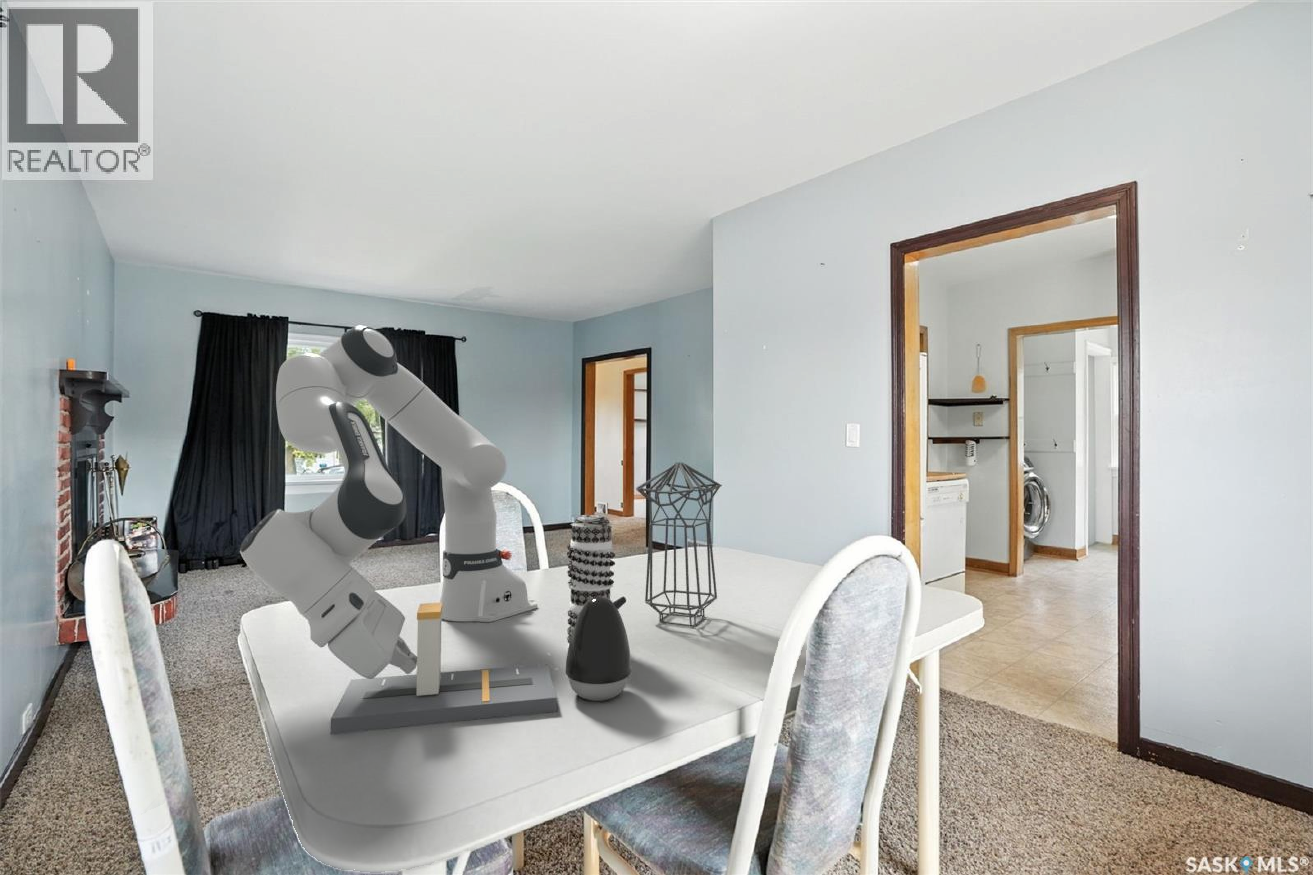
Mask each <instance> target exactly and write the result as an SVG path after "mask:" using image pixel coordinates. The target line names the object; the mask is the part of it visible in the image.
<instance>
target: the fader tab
mask: <svg viewBox="0 0 1313 875" xmlns="http://www.w3.org/2000/svg"><path fill="white" fill-rule="evenodd" d="M416 612H417V613H416V621H417V636H416V637H417V639H416V640H417V643H416V644H417V647H416V648H417V650H416V651H417V652H416V656H417V665H416V674H417V696H420V695H431V694H438V693H439V687H440V679H441V668H442V667H441V666H442V665H441V664H442V663H441V662H442V661H441V660H442V619H441V618H442V603H440V602H430V603H428V602H427V603H425V602H424V603H420V604H419V607H418V610H417V611H416Z"/></svg>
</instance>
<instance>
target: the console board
mask: <svg viewBox="0 0 1313 875" xmlns="http://www.w3.org/2000/svg"><path fill="white" fill-rule="evenodd" d="M552 680H553V679H552V676H551V672H550V670H549V666H548V664H547V663H544V664H532V665H530V664H529V665H520V666H518V665H517V666H505V667H494V668H482V669H481V668H479V669H469V670H466V669H465V670H458V671H457V670H456V671H445V672H443V671H442V672H441V679H440V687H439V693H438V694H431V695H420V696H417V673H416V674H405V675H394V676H393V675H392V676H380V677H375V678H373V679H368V678H353V679H350V681H349V682H348V685H347V687H346V689H345V690H344V693H343V695H342V697H341V698H340V700H339V702H338V704H337V706H336V708H335V710H334V711H333V713H332V715H331V717H330V728H329V729H330V731H329V732H330V734H331V735H332V734H340V733H341V734H342V733H349V732H350V733H351V732H360V731H363V732H364V731H371V730H380V729H381V730H383V729H391V728H401V727H410V726H421V725H430V724H431V725H432V724H441V723H452V722H453V723H454V722H461V721H462V722H463V721H470V720H471V721H472V720H480V719H482V720H483V719H491V718H492V719H494V718H501V717H502V718H503V717H510V716H513V717H514V716H522V715H533V714H540V713H543V714H544V713H551V712H553V713H554V712H557V710H558V709H557V706H558V704H557V703H558V696H557V693H556V690H555V687H554V682H553V681H552Z"/></svg>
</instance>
